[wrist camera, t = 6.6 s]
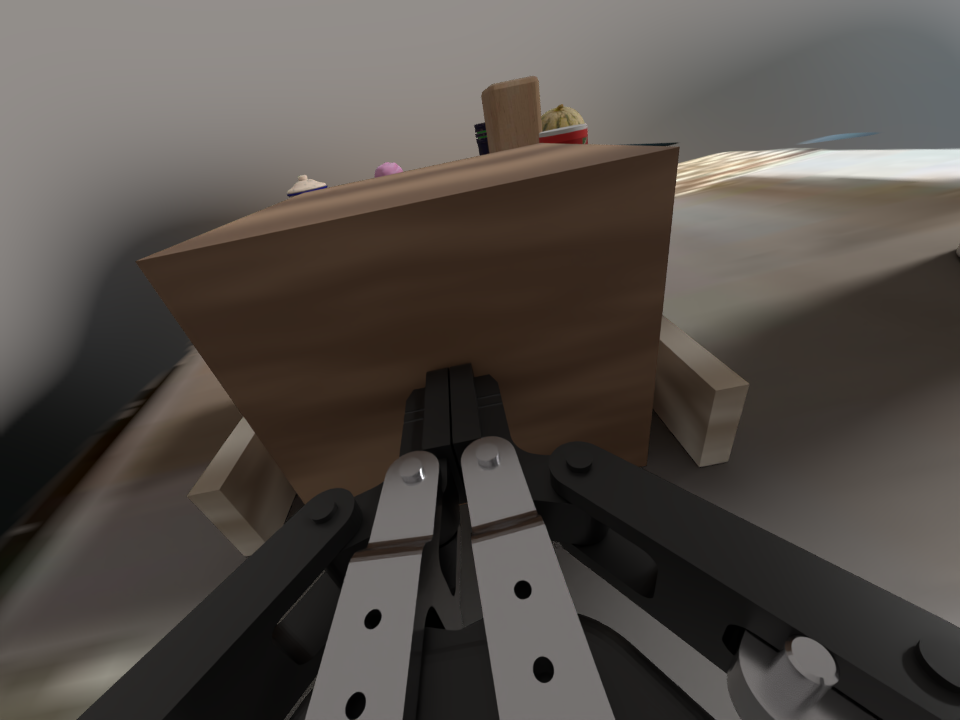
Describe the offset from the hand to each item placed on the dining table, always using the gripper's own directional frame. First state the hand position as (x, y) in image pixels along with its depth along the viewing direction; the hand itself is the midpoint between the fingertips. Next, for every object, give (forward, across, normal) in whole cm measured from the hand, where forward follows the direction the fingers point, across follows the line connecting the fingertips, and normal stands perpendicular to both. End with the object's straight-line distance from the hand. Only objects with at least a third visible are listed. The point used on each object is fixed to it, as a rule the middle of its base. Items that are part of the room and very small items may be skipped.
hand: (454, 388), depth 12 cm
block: (+80, -17, +6) cm, 82 cm away
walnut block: (+7, 0, +6) cm, 9 cm away
